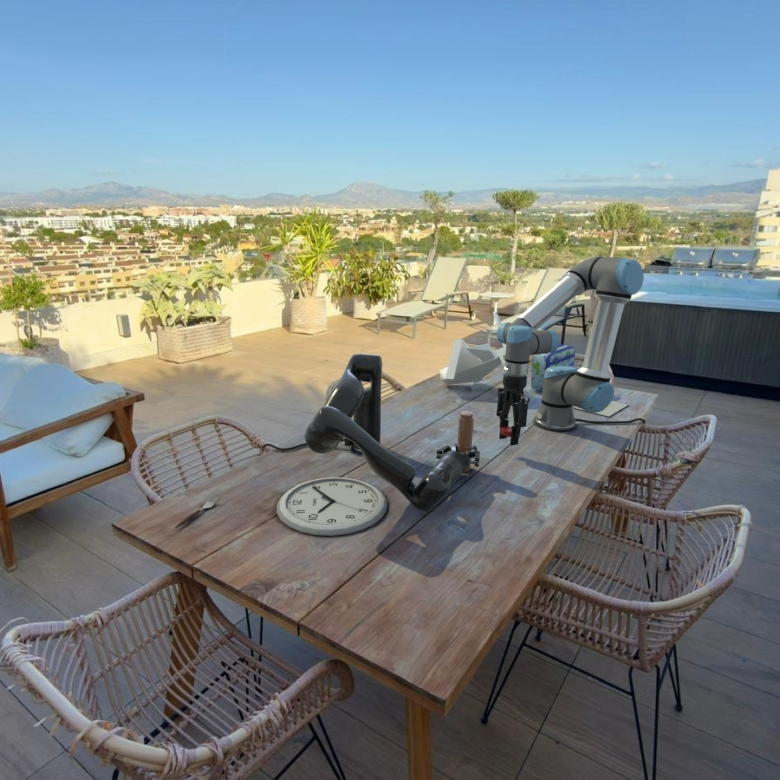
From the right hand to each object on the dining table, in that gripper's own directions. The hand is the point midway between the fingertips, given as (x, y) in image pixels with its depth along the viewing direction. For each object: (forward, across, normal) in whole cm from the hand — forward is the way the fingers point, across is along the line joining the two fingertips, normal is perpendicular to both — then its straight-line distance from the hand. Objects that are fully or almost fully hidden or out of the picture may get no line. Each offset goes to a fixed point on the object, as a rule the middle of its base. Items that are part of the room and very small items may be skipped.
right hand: (508, 441), depth 175 cm
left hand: (-1, +1, -17) cm, 17 cm away
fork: (+7, -2, -99) cm, 99 cm away
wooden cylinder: (+5, +3, -19) cm, 20 cm away
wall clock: (+6, +8, -65) cm, 65 cm away
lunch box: (+4, -54, +68) cm, 87 cm away
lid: (-4, 0, 0) cm, 4 cm away
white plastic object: (+5, -62, +32) cm, 70 cm away
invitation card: (+4, -25, +69) cm, 74 cm away
